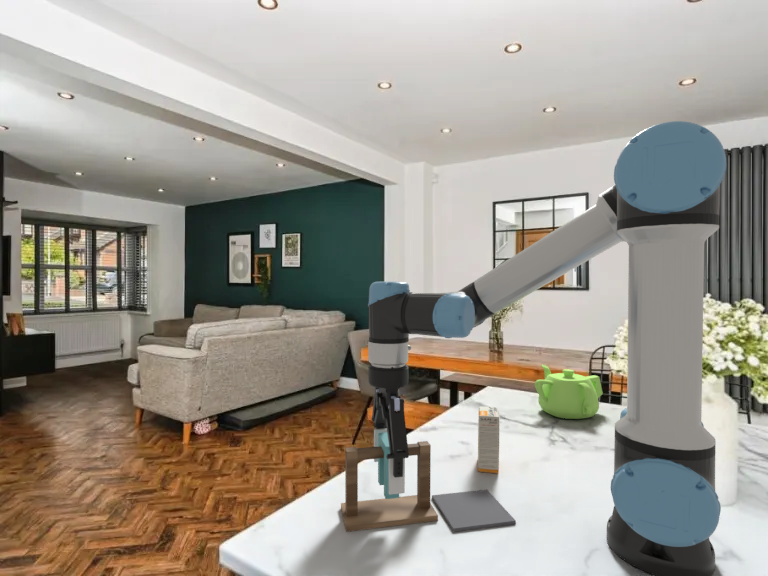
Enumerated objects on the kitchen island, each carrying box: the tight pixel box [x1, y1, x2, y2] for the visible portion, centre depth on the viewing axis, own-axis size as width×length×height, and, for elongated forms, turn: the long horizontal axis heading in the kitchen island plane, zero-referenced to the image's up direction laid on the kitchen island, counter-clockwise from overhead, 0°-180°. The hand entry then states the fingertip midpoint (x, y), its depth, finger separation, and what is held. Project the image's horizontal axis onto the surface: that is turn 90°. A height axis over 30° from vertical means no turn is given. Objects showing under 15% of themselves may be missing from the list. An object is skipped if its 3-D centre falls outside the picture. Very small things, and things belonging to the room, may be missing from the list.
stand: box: [340, 440, 439, 533], centre depth 84 cm, size 8×17×13 cm, turn 102°
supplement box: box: [477, 406, 500, 474], centre depth 105 cm, size 8×5×13 cm, turn 168°
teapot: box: [534, 364, 604, 420], centre depth 145 cm, size 19×20×14 cm
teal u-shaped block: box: [377, 432, 400, 499], centre depth 84 cm, size 7×2×10 cm, turn 12°
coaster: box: [431, 489, 517, 533], centre depth 85 cm, size 12×12×1 cm
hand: (388, 475), depth 84 cm, fingers open, 13 cm apart
